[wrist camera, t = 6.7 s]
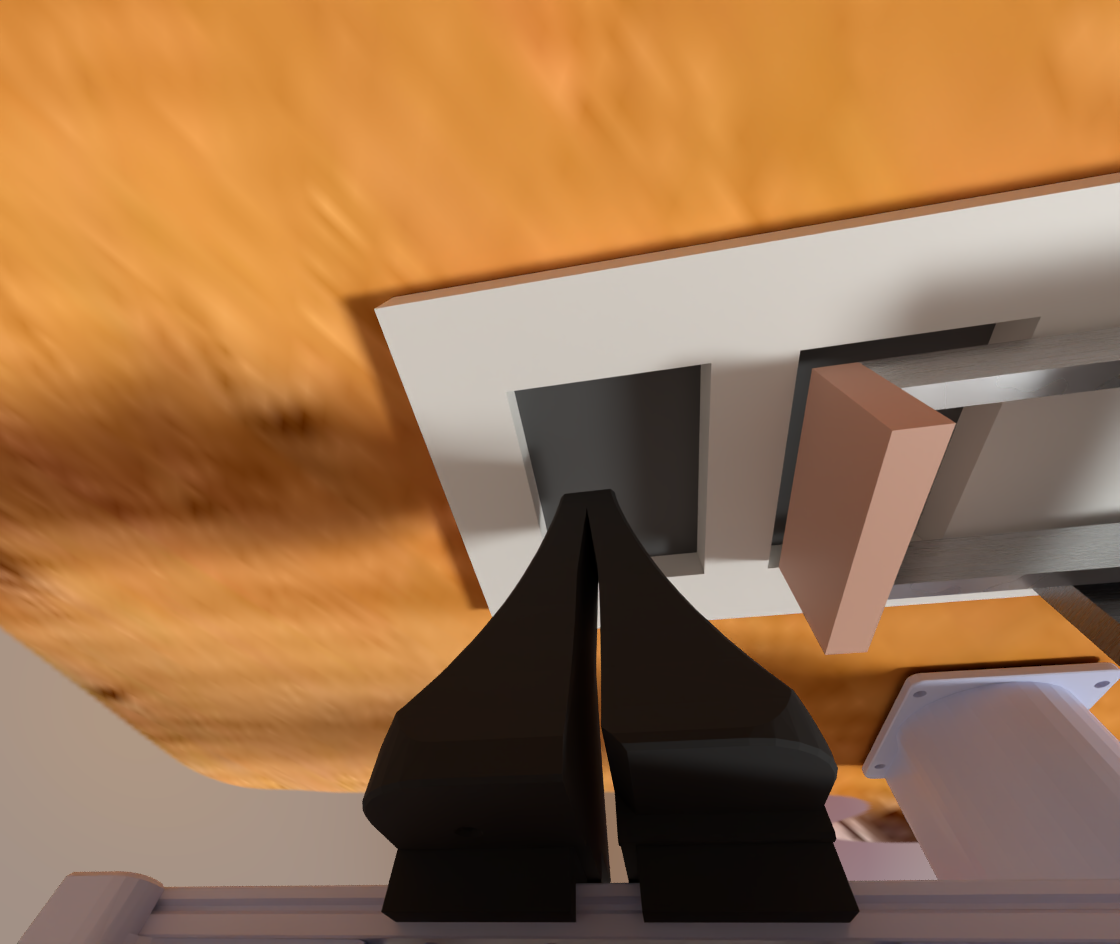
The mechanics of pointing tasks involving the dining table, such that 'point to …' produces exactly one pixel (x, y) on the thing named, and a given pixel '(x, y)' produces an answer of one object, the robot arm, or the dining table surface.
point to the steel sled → (924, 483)
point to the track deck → (761, 384)
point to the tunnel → (1090, 612)
